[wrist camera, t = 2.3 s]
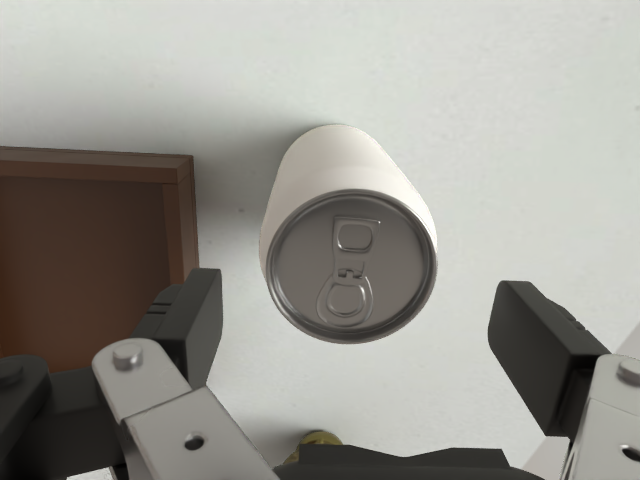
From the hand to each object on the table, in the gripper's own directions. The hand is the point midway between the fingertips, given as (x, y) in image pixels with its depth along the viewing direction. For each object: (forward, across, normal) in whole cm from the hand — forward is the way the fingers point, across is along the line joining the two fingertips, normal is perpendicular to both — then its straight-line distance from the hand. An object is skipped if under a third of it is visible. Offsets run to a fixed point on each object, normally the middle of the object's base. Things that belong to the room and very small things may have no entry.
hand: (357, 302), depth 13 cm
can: (+14, 0, 0) cm, 14 cm away
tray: (+14, +15, +7) cm, 21 cm away
